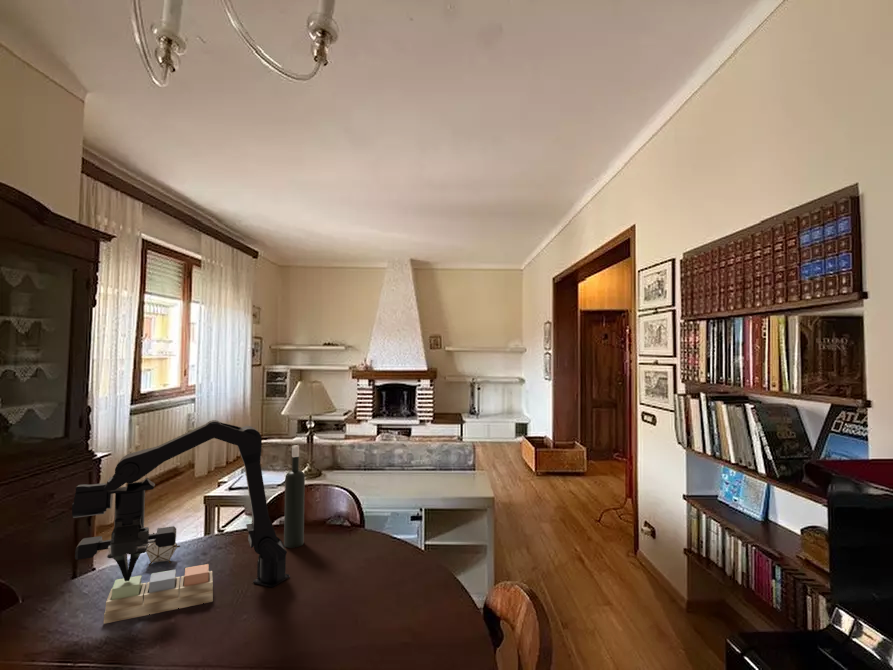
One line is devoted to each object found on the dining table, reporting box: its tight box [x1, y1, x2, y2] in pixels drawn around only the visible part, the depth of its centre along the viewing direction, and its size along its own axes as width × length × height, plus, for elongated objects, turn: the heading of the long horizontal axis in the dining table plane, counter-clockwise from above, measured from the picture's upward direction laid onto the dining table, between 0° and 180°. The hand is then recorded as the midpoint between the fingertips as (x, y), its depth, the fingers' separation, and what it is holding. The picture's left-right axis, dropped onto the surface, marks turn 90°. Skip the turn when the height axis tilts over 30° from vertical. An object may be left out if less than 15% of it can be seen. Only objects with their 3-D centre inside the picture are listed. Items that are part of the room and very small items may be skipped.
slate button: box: [148, 569, 177, 593], centre depth 111 cm, size 5×5×3 cm
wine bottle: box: [283, 444, 306, 549], centre depth 147 cm, size 6×6×30 cm
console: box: [103, 570, 214, 625], centre depth 111 cm, size 21×9×4 cm, turn 117°
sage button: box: [111, 575, 142, 600], centre depth 108 cm, size 5×5×3 cm
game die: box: [145, 532, 181, 566], centre depth 133 cm, size 9×8×10 cm
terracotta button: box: [184, 563, 210, 586], centre depth 114 cm, size 5×5×3 cm
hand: (127, 580), depth 108 cm, fingers closed
